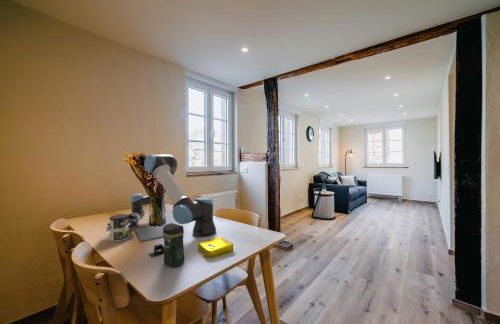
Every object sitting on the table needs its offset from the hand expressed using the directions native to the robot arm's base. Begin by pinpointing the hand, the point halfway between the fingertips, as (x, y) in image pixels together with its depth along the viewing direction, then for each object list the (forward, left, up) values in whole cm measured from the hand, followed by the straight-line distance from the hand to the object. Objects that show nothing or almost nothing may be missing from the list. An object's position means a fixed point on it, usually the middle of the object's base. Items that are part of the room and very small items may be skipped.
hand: (116, 228), depth 134 cm
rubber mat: (+3, -22, -8) cm, 23 cm away
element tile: (-48, -43, -8) cm, 65 cm away
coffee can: (+4, -2, -8) cm, 9 cm away
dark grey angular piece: (-33, -18, -8) cm, 38 cm away
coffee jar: (-49, -21, -8) cm, 54 cm away
